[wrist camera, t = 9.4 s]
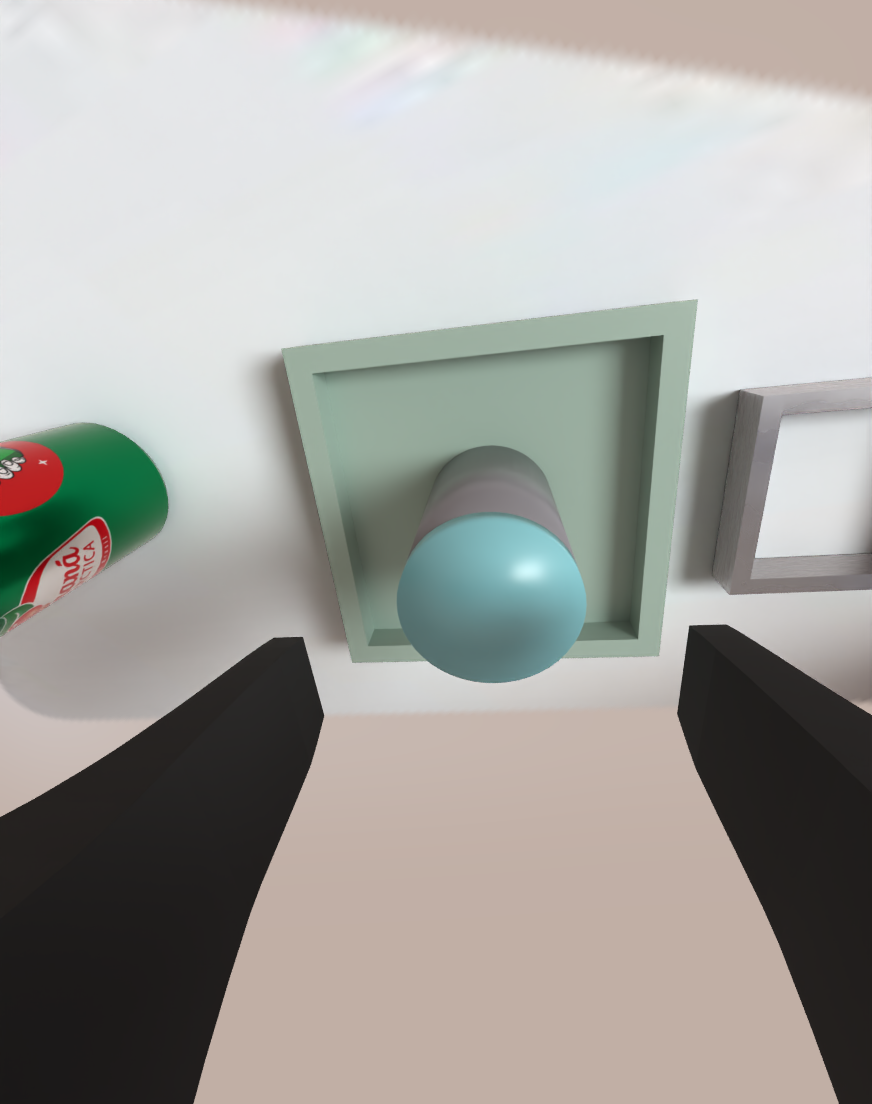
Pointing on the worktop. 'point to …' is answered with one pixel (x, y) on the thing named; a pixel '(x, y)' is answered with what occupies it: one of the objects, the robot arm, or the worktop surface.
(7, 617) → the soda can
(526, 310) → the worktop surface
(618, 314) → the tray
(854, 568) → the collar
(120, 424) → the worktop surface
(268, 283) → the worktop surface
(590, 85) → the worktop surface
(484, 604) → the cylinder
